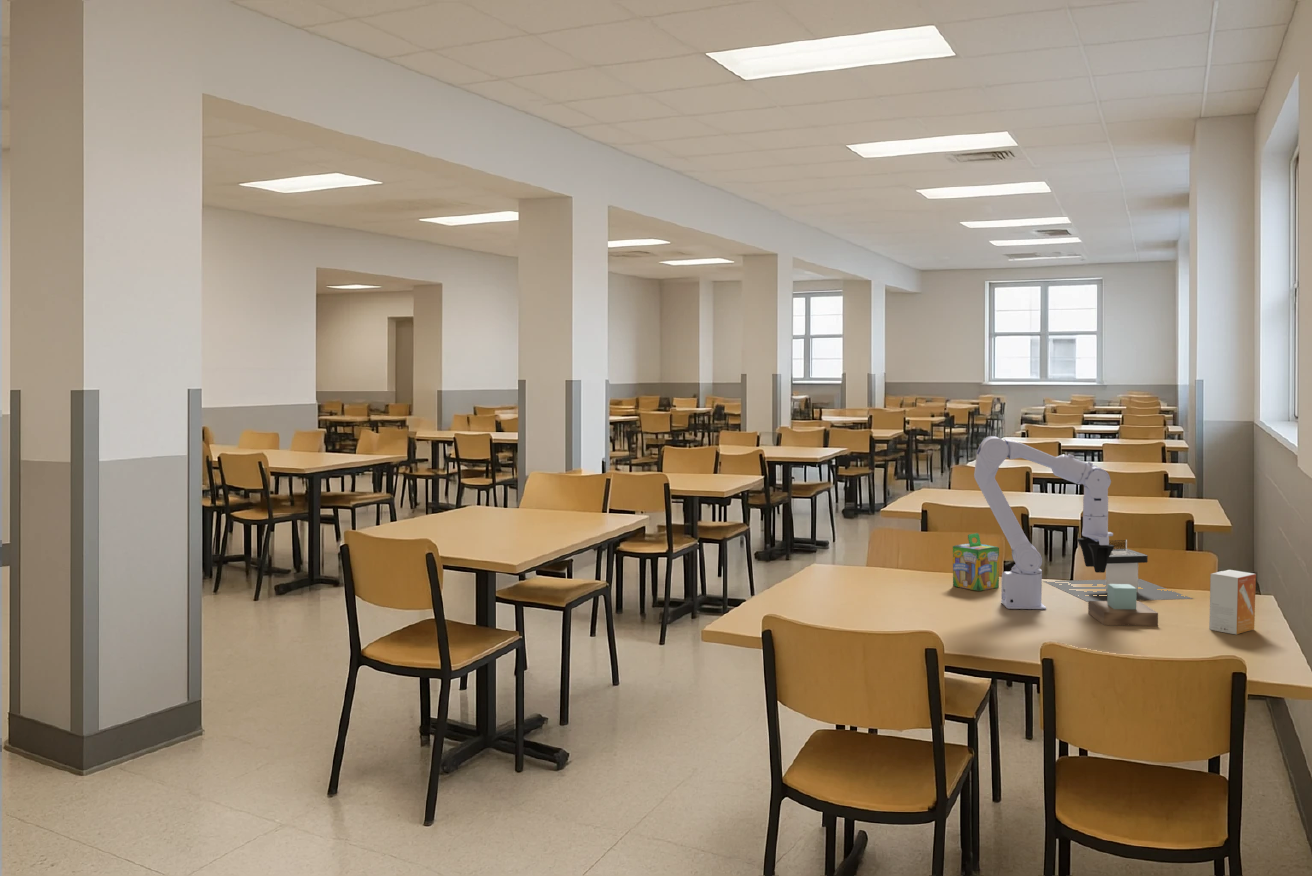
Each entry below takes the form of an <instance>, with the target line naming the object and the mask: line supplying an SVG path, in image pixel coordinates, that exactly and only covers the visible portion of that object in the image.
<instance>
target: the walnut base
mask: <svg viewBox="0 0 1312 876" xmlns="http://www.w3.org/2000/svg"><path fill="white" fill-rule="evenodd" d="M1087 606H1088V607H1087V608H1088V609H1087V613H1088V615H1090V616H1091V617H1093V618H1094V619H1095V620H1096V621H1098V622H1099V623H1100V624H1102V625H1104V626H1142V627H1143V626H1147V627H1148V626H1149V627H1151V626H1156V627H1157V626H1159V612H1157V611H1156V610H1155V609H1153V608H1151V607H1149V606H1148V605H1146V604H1145V603H1143V602H1142V601H1141V600H1136V609H1113V608H1112V607H1110V606H1109V605H1108V604H1107V601H1088V602H1087Z"/></svg>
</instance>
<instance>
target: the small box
mask: <svg viewBox="0 0 1312 876" xmlns="http://www.w3.org/2000/svg"><path fill="white" fill-rule="evenodd" d="M1256 578H1257V573H1253V572H1247V571H1241V570H1235V569H1234V570H1233V569H1227V570H1221V571H1217V572H1213V573H1210V579H1209V580H1210V581H1209V583H1210V585H1209V586H1210V589H1209V622H1208V623H1209V628H1208V629H1209V630H1211V631H1216V632H1221V633H1226V634H1231V635H1240V634H1242V633H1247V632H1250V631H1255V624H1256V623H1255V622H1256V620H1255V619H1256V618H1255V617H1256V615H1255V613H1256V587H1257V585H1256V584H1257V583H1256V582H1257V579H1256Z"/></svg>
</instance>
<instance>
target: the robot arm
mask: <svg viewBox="0 0 1312 876" xmlns="http://www.w3.org/2000/svg"><path fill="white" fill-rule="evenodd" d="M1006 459H1009V460H1015V459H1024V460H1026V461H1029V462H1032V463H1035V464H1039V465H1041V466H1043V467H1047V468H1049V469H1051V471H1052V474H1053V475H1054V476H1056V477H1059V478H1061V479H1063V480H1066V481H1068V482H1071V483H1073V484H1076V485H1083V497H1082V532H1081V536H1082V537H1078V538H1077V542H1078V545H1079V546H1080V548H1081V552H1082V556H1083V561H1084V564H1085V567H1086V568H1087V567H1091V568H1094V572H1095V573H1101V574H1102V573H1106V566H1107V562H1108V558H1109V556H1110V554H1111V552H1112V550H1113V549H1114V545H1113V544H1110V545H1109V543H1110V537H1113V536H1114V532H1111V531H1109V528H1108V527H1109V496H1108V495H1109V494H1108V493H1109V490H1108V489H1109V487H1110V486H1111V483H1112V480H1111V476H1110V474H1109V473H1108V472H1107V470H1105V469H1103V468H1102V467H1099V466H1097V465H1095V464H1094V463H1093V462H1090V461H1088V462H1086V461H1083V460H1080V459H1078V458H1075V455H1074V454H1071V453H1068V454H1064V453H1063V454H1060V455H1058V456H1054V455H1051V454H1049V453H1047V452H1044V451H1042V450H1040V449H1036V448H1034V447H1032V446H1029V445H1027V444H1025V443H1022V442H1020V441H1016V440H1013V439H1012V440H1011V439H1007V438H1003V439H1002V438H1000V437H998V436H996V435H989V436H986V437H984V439H983V440H982V441H981V442H980V444H979V446H978V448H977V450H976V457H975V464H974V465H975V466H974V472H973V477H974V480H975V482H976V484H977V486H978V489H980V491H981V493H982V494H983V497H984V499H985V501H986V503H987V505H988V506H989V508H990V511H992V514H993V516H994V518H995V520H996V521H997V523H998V525H999V526H1000V529H1001V530H1002V532H1003V534H1004V536H1005V538H1006V540H1007V542H1008V544H1009V546H1010V548H1011V557H1012V560H1013V561H1014V563H1015V564H1013V566H1012V567H1011V570H1010V571H1003V572H1002V573H1001V594H1000V595H1001V599H1000V602H1001V604H1002V605H1003V606H1004V607H1005V608H1006V609H1009V610H1011V609H1012V610H1019V609H1020V610H1046V609H1047V606H1045V605H1044V604H1043V603H1042V600H1043V599H1042V593H1043V592H1042V591H1043V589H1042V588H1043V587H1042V586H1043V585H1042V584H1043V583H1042V582H1043V578H1042V576H1043V574H1042V573H1043V572H1042V571H1043V570H1042V569H1041V566H1042V564H1043V558H1042V555H1041V553H1040V552H1039V551H1038V550H1037V548H1036V546H1034V545H1033V544H1032V543H1031V542H1030V541H1029V539H1028V537H1027V536H1026V533H1024V532H1025V531H1024V530H1023V529H1022V526H1021V525H1020V523H1019V521H1018V519H1017V517H1016V515H1015V514H1014V511H1013V510H1012V507H1011V505H1010V503H1009V502H1008V500H1007V499H1006V497H1005V495H1004V492H1003V491H1002V489H1001V487H1000V486H999V485H1000V484H999V483H998V481H997V480H996V475H997V473H998V471H999V468H1000V466H1001V464H1003V462H1004V461H1005V460H1006Z"/></svg>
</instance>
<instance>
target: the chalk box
mask: <svg viewBox="0 0 1312 876" xmlns="http://www.w3.org/2000/svg"><path fill="white" fill-rule="evenodd" d="M973 538H974V539H976V542H973ZM967 540H968V543H962V544H956V545H952V587H953V586H956V587H955V588H958V587H960V589H967V590H972V591H977V592H982V591H987V590H993V589H998V588H1000V582H999V581H1000V577H999V576H1000V547H998V546H993V545H989V544H982V542H981V537H980V534H979V533H978V532H975V533H970V534H969V533H968V534H967Z"/></svg>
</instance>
